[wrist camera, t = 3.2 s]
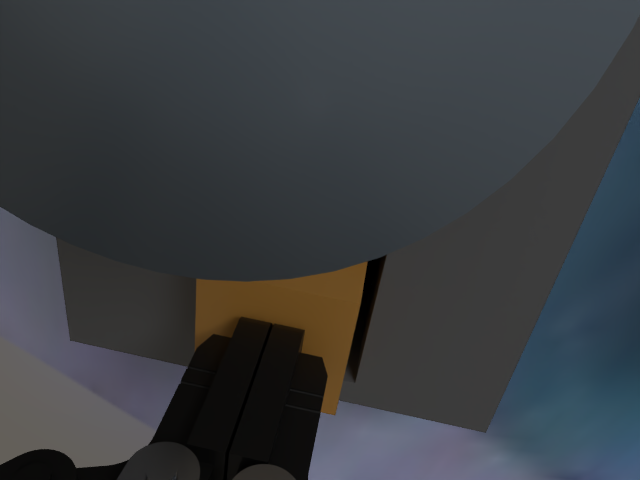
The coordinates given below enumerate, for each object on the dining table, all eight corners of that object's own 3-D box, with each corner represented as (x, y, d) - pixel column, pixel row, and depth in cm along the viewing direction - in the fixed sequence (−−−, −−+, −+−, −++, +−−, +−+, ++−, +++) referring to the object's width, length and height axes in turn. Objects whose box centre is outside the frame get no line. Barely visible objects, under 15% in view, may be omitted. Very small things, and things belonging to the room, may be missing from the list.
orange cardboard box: (245, 184, 16) (196, 269, 13) (375, 210, 16) (360, 304, 12) (237, 287, 18) (193, 383, 15) (353, 311, 18) (335, 415, 14)
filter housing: (90, -482, 11) (-63, -632, 7) (758, -390, 10) (919, -513, 7) (129, 261, 20) (70, 340, 17) (477, 335, 20) (486, 432, 16)
